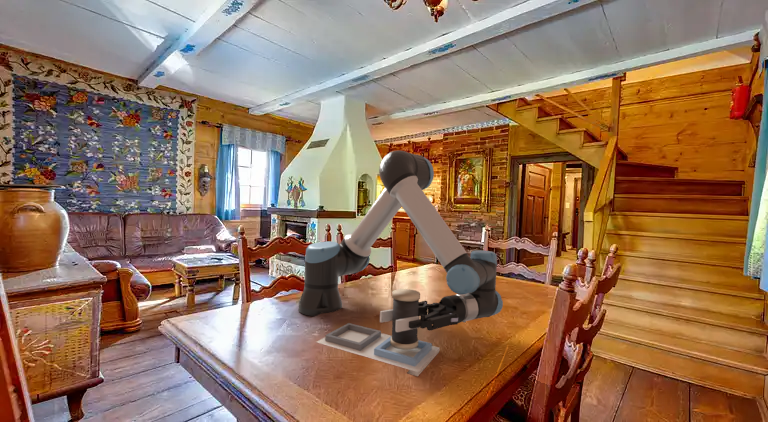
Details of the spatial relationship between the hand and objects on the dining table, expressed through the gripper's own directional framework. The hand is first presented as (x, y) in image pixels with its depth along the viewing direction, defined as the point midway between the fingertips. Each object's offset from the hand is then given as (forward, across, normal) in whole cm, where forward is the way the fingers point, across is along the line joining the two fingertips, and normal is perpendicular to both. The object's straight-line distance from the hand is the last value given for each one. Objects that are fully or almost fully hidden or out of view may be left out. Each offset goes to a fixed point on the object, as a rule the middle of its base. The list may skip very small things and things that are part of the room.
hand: (388, 321), depth 83 cm
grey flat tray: (-1, +7, -10) cm, 12 cm away
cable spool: (-5, 0, -6) cm, 8 cm away
